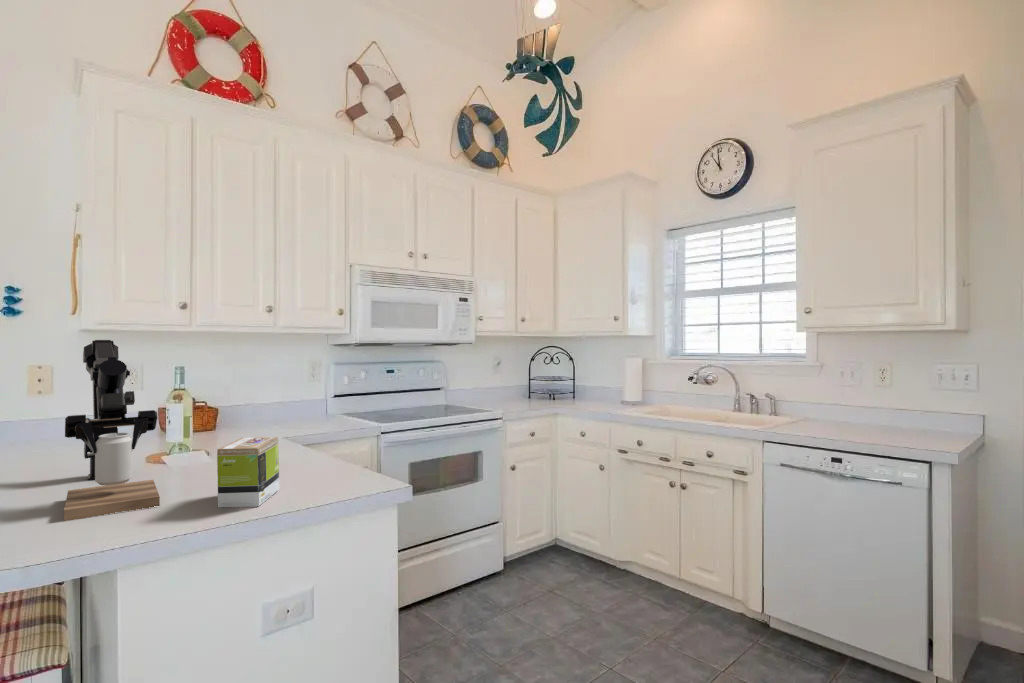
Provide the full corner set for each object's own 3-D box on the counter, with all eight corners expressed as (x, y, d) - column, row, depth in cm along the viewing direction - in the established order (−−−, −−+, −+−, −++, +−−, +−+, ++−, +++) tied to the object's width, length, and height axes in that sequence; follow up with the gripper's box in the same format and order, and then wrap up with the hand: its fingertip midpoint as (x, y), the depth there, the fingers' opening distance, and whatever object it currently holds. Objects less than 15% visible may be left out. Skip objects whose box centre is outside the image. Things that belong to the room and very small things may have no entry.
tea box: (241, 491, 146) (241, 436, 146) (280, 490, 147) (280, 436, 147) (216, 508, 131) (216, 447, 131) (259, 507, 132) (259, 446, 132)
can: (99, 488, 130) (100, 438, 130) (91, 482, 135) (91, 434, 135) (136, 482, 136) (136, 434, 136) (126, 476, 140) (127, 430, 140)
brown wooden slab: (68, 502, 138) (68, 490, 138) (153, 490, 148) (153, 479, 148) (63, 523, 122) (64, 510, 122) (159, 508, 132) (159, 496, 132)
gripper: (65, 382, 132) (66, 434, 124) (156, 379, 144) (163, 426, 136) (64, 411, 138) (65, 463, 130) (151, 406, 150) (157, 452, 142)
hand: (114, 450), depth 134 cm, fingers closed on can, 7 cm apart
